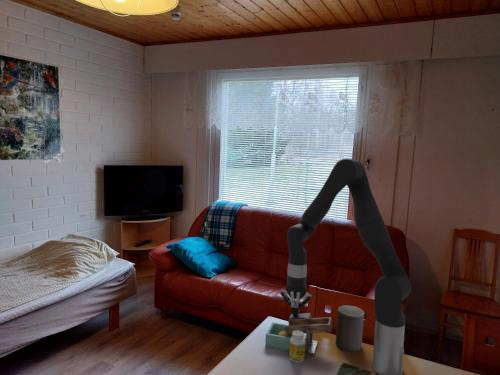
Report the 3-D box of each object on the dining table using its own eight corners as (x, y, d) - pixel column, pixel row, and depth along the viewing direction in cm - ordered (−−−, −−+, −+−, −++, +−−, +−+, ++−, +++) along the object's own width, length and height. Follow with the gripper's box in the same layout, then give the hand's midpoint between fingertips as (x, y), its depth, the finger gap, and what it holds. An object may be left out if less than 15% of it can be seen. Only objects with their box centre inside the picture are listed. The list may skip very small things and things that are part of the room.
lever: (334, 314, 144) (333, 307, 144) (331, 332, 130) (329, 324, 130) (291, 317, 150) (290, 310, 150) (283, 334, 136) (282, 327, 135)
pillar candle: (332, 346, 138) (335, 308, 136) (339, 335, 146) (342, 299, 145) (358, 354, 133) (361, 315, 132) (364, 342, 142) (367, 305, 140)
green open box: (296, 338, 143) (297, 326, 142) (291, 352, 133) (292, 339, 133) (271, 334, 146) (272, 322, 145) (265, 346, 136) (265, 334, 136)
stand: (317, 343, 140) (318, 321, 139) (313, 355, 131) (315, 332, 130) (304, 341, 141) (305, 318, 140) (300, 353, 133) (301, 329, 132)
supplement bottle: (297, 353, 133) (298, 327, 132) (307, 360, 129) (309, 334, 128) (286, 357, 130) (287, 331, 129) (295, 364, 126) (297, 338, 125)
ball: (291, 333, 140) (283, 327, 141) (289, 338, 136) (280, 331, 137) (286, 341, 141) (277, 334, 142) (283, 346, 137) (275, 339, 138)
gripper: (315, 273, 147) (312, 314, 149) (282, 268, 151) (281, 309, 153) (312, 279, 140) (309, 322, 142) (278, 274, 144) (276, 316, 146)
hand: (294, 315), depth 148 cm, fingers closed
